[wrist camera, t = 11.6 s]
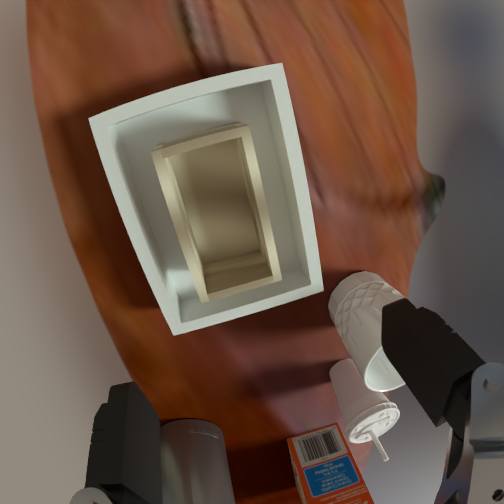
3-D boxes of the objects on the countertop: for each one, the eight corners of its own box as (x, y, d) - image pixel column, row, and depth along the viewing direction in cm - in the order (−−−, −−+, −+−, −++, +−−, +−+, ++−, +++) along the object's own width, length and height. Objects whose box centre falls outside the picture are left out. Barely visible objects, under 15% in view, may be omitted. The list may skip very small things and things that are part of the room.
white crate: (308, 268, 30) (323, 290, 27) (174, 308, 29) (173, 335, 26) (267, 69, 22) (282, 62, 18) (103, 116, 21) (88, 118, 18)
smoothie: (310, 371, 37) (353, 467, 24) (355, 341, 36) (412, 432, 24) (331, 392, 40) (372, 477, 27) (371, 366, 39) (422, 446, 27)
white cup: (398, 273, 33) (454, 326, 24) (366, 331, 36) (408, 391, 27) (342, 257, 31) (397, 317, 22) (309, 323, 33) (347, 392, 24)
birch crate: (266, 250, 28) (282, 280, 23) (198, 270, 27) (201, 303, 23) (237, 121, 23) (249, 125, 18) (158, 143, 22) (150, 152, 18)
